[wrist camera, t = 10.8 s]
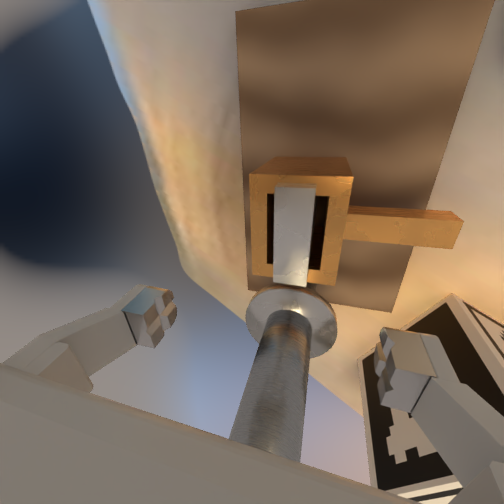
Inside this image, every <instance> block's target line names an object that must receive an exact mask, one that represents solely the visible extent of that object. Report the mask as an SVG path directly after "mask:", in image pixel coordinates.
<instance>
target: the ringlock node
mask: <svg viewBox="0 0 504 504" xmlns="http://www.w3.org/2000/svg"><path fill="white" fill-rule="evenodd" d="M278 182H280V183H308V184H317V187H316V196H327V202H326V211H325V219H324V227H323V226H315V228H314V234H313V240H312V246H311V252H310V259H309V268H308V278H307V284H306V287H303V286H296V285H290V284H283V283H278V284H273V285H269V286H267V287H264V288H262V289H261V290H259V291H258V292H257V293H256V294H255V295H254V296H253V298H252V299H251V301H250V304H249V306H248V308H247V311H246V325H247V327H248V330H249V332H250V334H251V335H252V337H253V338H254V339H255V340H256V341H257V342H258V343H259V347H258V350H257V353H256V356H255V359H254V363H253V365H252V368H251V372H250V375H249V378H248V381H247V384H246V387H245V390H244V393H243V396H242V399H241V402H240V406H239V409H238V412H237V415H236V418H235V421H234V424H233V427H232V430H231V434H230V437H229V439H230V440H233V441H236V442H239V443H242V444H245V445H248V446H251V447H254V448H257V449H260V450H263V451H266V452H269V453H272V454H275V455H278V456H281V457H284V458H287V459H290V460H293V461H296V462H299V463H300V457H301V446H302V436H303V424H304V415H305V404H306V393H307V382H308V372H309V361H310V358H314V357H317V356H320V355H322V354H324V353H325V352H327V351H328V350H329V349H330V348H331V347H332V346H333V344H334V343H335V341H336V337H337V318H336V314H335V312H334V310H333V308H332V306H331V305H330V304H329V302H328V301H327V300H326V299H325V298H324V297H322V296H321V295H320V294H318V293H317V292H316V286H317V284H323V285H331V286H335V283H336V277H337V271H338V265H339V259H340V254H341V248H342V242H343V239H346V240H357V241H368V242H379V243H390V244H401V245H412V246H423V247H434V248H445V249H453V246H454V244H455V242H456V239H457V237H458V234H459V232H460V230H461V227H462V225H463V222H464V221H463V220H461V219H460V218H459V217H458V216H456V215H455V214H454V213H453V212H451V211H438V210H420V209H403V208H385V207H367V206H349V200H350V195H351V189H352V183H353V174H352V172H351V169H350V166H349V163H348V161H347V158H346V157H274V158H272V159H271V160H269V161H268V162H266V163H265V164H263V165H262V166H260V167H259V168H257V169H256V170H254V171H253V172H251V173H250V174H249V190H250V220H251V249H252V275H259V276H266V277H273V256H274V193H275V186H276V185H277V183H278Z"/></svg>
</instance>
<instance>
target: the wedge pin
mask: <svg viewBox="0 0 504 504" xmlns="http://www.w3.org/2000/svg"><path fill="white" fill-rule="evenodd" d="M316 187H317V184H308V183H280V182H278V183H277V185H276V186H275V193H274V256H273V282H276V283H283V284H290V285H296V286H303V287H306V284H307V278H308V268H309V259H310V252H311V246H312V240H313V234H314V228H315V221H316V212H317V202H318V196H316Z"/></svg>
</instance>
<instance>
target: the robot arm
mask: <svg viewBox="0 0 504 504" xmlns="http://www.w3.org/2000/svg"><path fill="white" fill-rule="evenodd" d="M173 298H174V297H173V293H172V291H170V290H167V289H162V288H157V287H152V286H146V285H136V286H135V287H134V288H132V289H131V290H130V291H129V292H128V293H127V294H126V295H124V296H123V297H122V298H121V299H120V300H119V301H117V302H116V303H115V304H114V305H113V306H112V307H111V308H105V309H103V310H100V311H98V312H95V313H93V314H90V315H88V316H85V317H83V318H80V319H78V320H75V321H73V322H71V323H68V324H65V325H63V326H61V327H58V328H55V329H53V330H51V331H48V332H46V333H43V334H41V335H39V336H37V337H36V338H35V339H34V340H32V341H31V342H29V343H28V344H27V345H25V346H24V347H23V348H22V349H20V350H19V351H18V352H16V353H15V354H14V355H13V356H11V357H10V358H8V359H7V360H6V361H4V362H3V363H0V504H422V503H419V502H416V501H413V500H410V499H407V498H404V497H401V496H398V495H395V494H392V493H389V492H386V491H383V490H380V489H377V488H374V487H371V486H368V485H365V484H362V483H359V482H356V481H353V480H350V479H347V478H344V477H341V476H338V475H335V474H332V473H329V472H326V471H323V470H320V469H317V468H314V467H311V466H308V465H305V464H302V463H299V462H296V461H293V460H290V459H287V458H284V457H281V456H278V455H275V454H272V453H269V452H266V451H263V450H260V449H257V448H254V447H251V446H248V445H245V444H242V443H239V442H236V441H233V440H230V439H227V438H224V437H221V436H218V435H215V434H212V433H209V432H206V431H203V430H200V429H197V428H194V427H191V426H188V425H185V424H182V423H179V422H176V421H173V420H170V419H167V418H164V417H161V416H158V415H155V414H152V413H149V412H146V411H143V410H140V409H137V408H134V407H131V406H128V405H125V404H122V403H119V402H116V401H113V400H110V399H107V398H104V397H101V396H98V395H95V394H92V393H90V392H91V391H92V389H93V384H92V382H91V380H90V379H89V376H90V375H92V374H94V373H95V372H96V371H98V370H100V369H101V368H103V367H104V366H106V365H107V364H109V363H111V362H112V361H114V360H115V359H117V358H118V357H120V356H121V355H123V354H124V353H126V352H127V351H129V350H130V349H132V348H134V347H135V346H136V344H137V345H141V346H146V347H151V348H155V347H156V346H157V345H158V343H159V342H160V341H161V339H162V338H163V336H164V331H165V330H166V329H168V328H170V327H171V326H172V324H173V323H174V321H175V319H176V316H177V308H176V305H175V304H174V303H173V302H172V300H173ZM380 340H381V342H379V343H377V344H376V348H375V352H374V368H375V372H376V374H377V375H378V376H379V377H380V378H379V381H378V384H377V386H378V392H379V398H380V404H381V405H383V406H387V407H390V408H394V409H398V410H401V411H405V412H408V413H411V415H412V417H413V418H414V420H415V421H416V422H417V424H418V425H419V427H420V428H421V429H422V431H423V432H424V434H425V435H426V436H427V438H428V439H429V441H430V442H431V443H432V445H433V446H434V448H435V449H436V450H437V452H438V453H439V455H440V456H441V457H442V459H443V460H444V462H445V463H446V464H447V466H448V467H449V469H450V470H451V471H452V473H453V474H454V476H455V477H456V478H457V480H458V481H459V483H460V484H461V485H462V487H463V489H462V490H461V491H460V492H459V493H458V494H457V495H456V496H455V497H454V498H453V499H452V500H451V501H450V502H449V503H448V504H504V417H503V416H502V415H501V414H500V413H499V412H497V411H496V410H495V409H494V408H493V407H492V406H491V405H489V404H488V403H487V402H486V401H485V400H484V399H483V398H481V397H480V396H479V395H478V394H477V393H476V392H475V391H473V390H472V389H471V388H470V387H469V386H468V385H467V384H463V383H460V381H459V379H458V377H457V375H456V373H455V371H454V369H453V367H452V365H451V363H450V361H449V359H448V356H447V354H446V352H445V350H444V348H443V346H442V344H441V342H440V340H439V338H438V337H437V336H436V335H430V334H424V333H416V332H411V331H405V330H399V329H393V328H387V327H383V328H382V329H381V332H380Z"/></svg>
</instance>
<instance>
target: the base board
mask: <svg viewBox="0 0 504 504" xmlns="http://www.w3.org/2000/svg"><path fill="white" fill-rule="evenodd" d="M494 1H495V0H304V1H298V2H292V3H285V4H279V5H273V6H266V7H260V8H254V9H247V10H241V11H235V13H236V35H237V57H238V79H239V101H240V123H241V145H242V167H243V189H244V211H245V233H246V255H247V277H248V290H251V291H259V290H261V289H262V288H264V287H267V286H269V285H273V284H278V283H276V282H273V277H266V276H259V275H252V249H251V220H250V190H249V174H250V173H251V172H253V171H254V170H256V169H257V168H259V167H260V166H262V165H263V164H265V163H266V162H268V161H269V160H271V159H272V158H274V157H346V158H347V161H348V163H349V166H350V169H351V172H352V174H353V183H352V189H351V195H350V200H349V206H367V207H385V208H403V209H420V210H426V207H427V204H428V201H429V198H430V195H431V192H432V189H433V186H434V183H435V180H436V177H437V174H438V171H439V168H440V165H441V161H442V158H443V155H444V152H445V149H446V146H447V143H448V140H449V137H450V134H451V131H452V128H453V125H454V122H455V119H456V116H457V113H458V110H459V107H460V104H461V101H462V98H463V95H464V92H465V89H466V86H467V83H468V80H469V77H470V74H471V71H472V68H473V65H474V62H475V59H476V56H477V53H478V49H479V46H480V43H481V40H482V37H483V34H484V31H485V28H486V25H487V22H488V19H489V16H490V13H491V10H492V7H493V4H494ZM326 202H327V196H318V202H317V212H316V221H315V226H323V227H324V219H325V211H326ZM412 249H413V246H412V245H401V244H390V243H379V242H368V241H357V240H346V239H343V242H342V248H341V254H340V259H339V265H338V271H337V277H336V283H335V286H331V285H323V284H317V286H316V292H317V293H318V294H320V295H321V296H322V297H324V298H325V299H326V300H327V301H328V302H329V303H333V304H340V305H346V306H352V307H359V308H365V309H371V310H378V311H384V312H390V313H392V310H393V307H394V304H395V301H396V298H397V295H398V292H399V289H400V286H401V283H402V280H403V277H404V273H405V270H406V267H407V264H408V261H409V258H410V255H411V252H412Z"/></svg>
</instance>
